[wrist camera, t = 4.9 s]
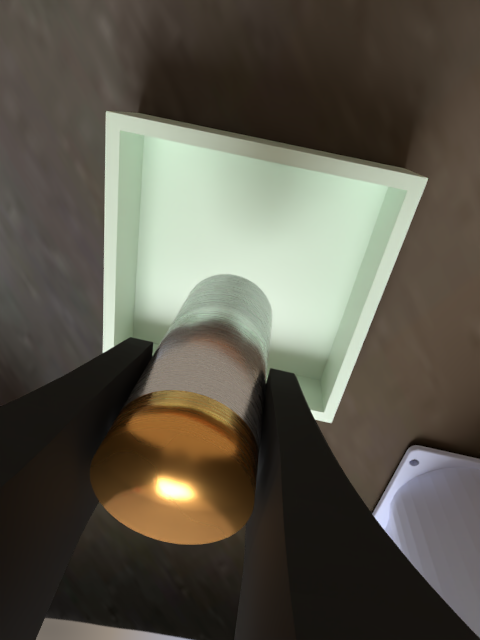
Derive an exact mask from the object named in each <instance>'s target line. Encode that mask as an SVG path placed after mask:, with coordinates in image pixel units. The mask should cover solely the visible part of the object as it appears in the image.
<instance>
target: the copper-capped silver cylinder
mask: <svg viewBox="0 0 480 640" xmlns="http://www.w3.org/2000/svg"><path fill="white" fill-rule="evenodd" d="M271 328H272V309H271V305H270V302H269V300H268V298H267V297H266V295H265V294H264V292H263V291H262V290H261V289H260V288H259V287H258V286H257V285H256V284H254V283H253V282H251V281H249V280H248V279H245V278H243V277H240V276H237V275H231V274H220V275H214V276H211V277H208V278H206V279H204V280H202V281H201V282H199V283H198V284H197V285H196V286H195V287H194V288H193V289H192V290H191V292H190V293H189V295H188V297H187V298H186V300H185V302H184V304H183V305H182V307H181V309H180V310H179V312H178V314H177V316H176V317H175V319H174V321H173V322H172V324H171V326H170V327H169V329H168V331H167V333H166V334H165V336H164V338H163V339H162V341H161V343H160V344H159V346H158V348H157V350H156V351H155V353H154V355H153V356H152V358H151V360H150V361H149V363H148V365H147V367H146V368H145V370H144V372H143V373H142V375H141V377H140V379H139V380H138V382H137V384H136V385H135V387H134V389H133V390H132V392H131V394H130V396H129V397H128V399H127V401H126V402H125V404H124V406H123V407H122V409H121V411H120V413H119V414H118V416H117V418H116V419H115V421H114V423H113V424H112V426H111V428H110V430H109V431H108V433H107V435H106V436H105V438H104V440H103V442H102V443H101V445H100V447H99V448H98V450H97V452H96V454H95V455H94V457H93V459H92V462H91V466H90V481H91V484H92V488H93V490H94V492H95V495H96V496H97V498H98V500H99V501H100V503H101V504H102V505H103V506H104V508H105V509H106V510H107V511H108V512H109V513H110V514H111V515H112V516H113V517H115V518H116V519H117V520H118V521H120V522H121V523H123V524H124V525H126V526H127V527H129V528H131V529H133V530H134V531H136V532H139V533H141V534H143V535H145V536H148V537H151V538H154V539H157V540H161V541H165V542H170V543H176V544H192V545H193V544H205V543H211V542H215V541H219V540H222V539H224V538H227V537H229V536H231V535H233V534H234V533H236V532H237V531H239V530H240V529H241V528H242V527H243V526H244V525H245V524H246V523H247V521H248V520H249V518H250V516H251V514H252V512H253V507H254V501H255V490H256V480H257V470H258V460H259V450H260V440H261V429H262V419H263V407H264V397H265V387H266V379H267V368H268V358H269V348H270V338H271Z"/></svg>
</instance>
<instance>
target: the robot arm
mask: <svg viewBox="0 0 480 640" xmlns="http://www.w3.org/2000/svg"><path fill="white" fill-rule="evenodd" d="M152 353H153V342H150V341H146V340H141V339H137V338H132V337H130V338H128V339H126V340H124V341H123V342H121V343H119V344H117V345H116V346H114V347H112V348H111V349H109V350H107V351H106V352H104V353H102V354H101V355H99V356H97V357H96V358H94V359H92V360H91V361H89V362H87V363H85V364H84V365H82V366H80V367H78V368H77V369H75V370H73V371H71V372H70V373H68V374H66V375H64V376H62V377H60V378H58V379H56V380H55V381H53V382H51V383H49V384H47V385H45V386H43V387H41V388H39V389H37V390H35V391H33V392H31V393H29V394H27V395H25V396H23V397H21V398H19V399H17V400H14V401H12V402H10V403H8V404H5V405H3V406H1V407H0V640H36V637H37V635H38V633H39V630H40V628H41V626H42V623H43V621H44V619H45V616H46V614H47V612H48V609H49V607H50V605H51V602H52V600H53V598H54V595H55V593H56V591H57V588H58V586H59V584H60V581H61V579H62V577H63V574H64V572H65V570H66V568H67V565H68V563H69V561H70V559H71V556H72V554H73V552H74V550H75V547H76V545H77V543H78V541H79V538H80V536H81V534H82V532H83V530H84V528H85V527H86V525H87V523H88V521H89V519H90V517H91V515H92V513H93V511H94V510H95V508H96V506H97V504H98V502H99V500H98V498H97V496H96V495H95V492H94V490H93V488H92V484H91V481H90V466H91V462H92V459H93V457H94V455H95V454H96V452H97V450H98V448H99V447H100V445H101V443H102V442H103V440H104V438H105V436H106V435H107V433H108V431H109V430H110V428H111V426H112V424H113V423H114V421H115V419H116V418H117V416H118V414H119V413H120V411H121V409H122V407H123V406H124V404H125V402H126V401H127V399H128V397H129V396H130V394H131V392H132V390H133V389H134V387H135V385H136V384H137V382H138V380H139V379H140V377H141V375H142V373H143V372H144V370H145V368H146V367H147V365H148V363H149V361H150V360H151V358H152ZM413 459H416V460H414V461H411V460H413ZM234 640H480V459H478V458H473V457H469V456H464V455H460V454H455V453H451V452H446V451H442V450H437V449H433V448H428V447H424V446H419V445H414V446H411V447H409V449H408V450H407V451H406V453H405V455H404V457H403V459H402V460H401V462H400V464H399V466H398V468H397V470H396V471H395V473H394V475H393V477H392V479H391V481H390V482H389V484H388V486H387V488H386V490H385V492H384V493H383V495H382V497H381V499H380V501H379V503H378V504H377V506H376V508H375V510H374V512H373V513H371V512H370V510H369V509H368V508H367V506H366V505H365V503H364V502H363V500H362V499H361V498H360V496H359V495H358V493H357V492H356V490H355V489H354V487H353V486H352V484H351V483H350V481H349V479H348V478H347V476H346V475H345V473H344V472H343V470H342V468H341V466H340V465H339V463H338V461H337V460H336V458H335V456H334V455H333V453H332V451H331V449H330V448H329V446H328V444H327V442H326V440H325V438H324V436H323V434H322V432H321V430H320V429H319V427H318V425H317V423H316V421H315V419H314V417H313V415H312V412H311V410H310V408H309V406H308V404H307V401H306V399H305V397H304V394H303V392H302V390H301V387H300V385H299V382H298V379H297V377H296V376H295V374H294V373H291V372H286V371H282V370H277V369H273V368H270V371H269V374H268V378H267V382H266V387H265V397H264V407H263V419H262V429H261V440H260V450H259V460H258V470H257V480H256V490H255V501H254V507H253V512H252V514H251V516H250V518H249V520H248V521H247V523H246V534H245V555H244V567H243V578H242V586H241V593H240V601H239V609H238V616H237V624H236V631H235V639H234Z"/></svg>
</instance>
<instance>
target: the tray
mask: <svg viewBox="0 0 480 640" xmlns="http://www.w3.org/2000/svg"><path fill="white" fill-rule="evenodd" d="M427 180H428V178H426V177H424V176H422V175H419V174H417V173H415V172H412V171H410V170H408V169H405V168H401V167H396V166H391V165H386V164H382V163H377V162H372V161H367V160H362V159H358V158H353V157H348V156H343V155H338V154H334V153H329V152H324V151H319V150H314V149H310V148H305V147H300V146H295V145H290V144H286V143H281V142H276V141H271V140H267V139H262V138H257V137H252V136H247V135H243V134H238V133H233V132H228V131H223V130H219V129H214V128H209V127H204V126H199V125H195V124H190V123H185V122H180V121H175V120H171V119H166V118H161V117H156V116H151V115H147V114H142V113H136V112H116V111H106V146H105V226H104V306H103V353H104V352H106V351H107V350H109V349H111V348H112V347H114V346H116V345H117V344H119V343H121V342H123V341H124V340H126V339H128V338H130V337H132V338H137V339H141V340H146V341H150V342H153V353H152V356H153V355H154V353H155V351H156V350H157V348H158V346H159V344H160V343H161V341H162V339H163V338H164V336H165V334H166V333H167V331H168V329H169V327H170V326H171V324H172V322H173V321H174V319H175V317H176V316H177V314H178V312H179V310H180V309H181V307H182V305H183V304H184V302H185V300H186V298H187V297H188V295H189V293H190V292H191V290H192V289H193V288H194V287H195V286H196V285H197V284H198V283H199V282H201V281H202V280H204V279H206V278H208V277H211V276H214V275H220V274H231V275H237V276H240V277H243V278H245V279H248V280H249V281H251V282H253V283H254V284H256V285H257V286H258V287H259V288H260V289H261V290H262V291H263V292H264V294H265V295H266V297H267V298H268V300H269V302H270V305H271V309H272V328H271V338H270V348H269V358H268V368H267V378H268V374H269V371H270V368H273V369H277V370H282V371H286V372H291V373H294V374H295V376H296V377H297V379H298V382H299V385H300V387H301V390H302V392H303V394H304V397H305V399H306V401H307V404H308V406H309V408H310V410H311V412H312V415H313V417H314V419H315V420H320V421H324V422H329V423H332V420H333V418H334V415H335V413H336V410H337V408H338V405H339V403H340V400H341V398H342V395H343V393H344V390H345V388H346V385H347V383H348V380H349V377H350V375H351V372H352V370H353V367H354V365H355V362H356V360H357V357H358V355H359V352H360V350H361V347H362V345H363V342H364V340H365V337H366V335H367V332H368V330H369V327H370V324H371V322H372V319H373V317H374V314H375V312H376V309H377V307H378V304H379V302H380V299H381V297H382V294H383V292H384V289H385V287H386V284H387V282H388V279H389V276H390V274H391V271H392V269H393V266H394V264H395V261H396V259H397V256H398V254H399V251H400V249H401V246H402V244H403V241H404V239H405V236H406V234H407V231H408V228H409V226H410V223H411V221H412V218H413V216H414V213H415V211H416V208H417V206H418V203H419V201H420V198H421V196H422V193H423V191H424V188H425V186H426V183H427ZM266 382H267V379H266Z"/></svg>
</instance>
